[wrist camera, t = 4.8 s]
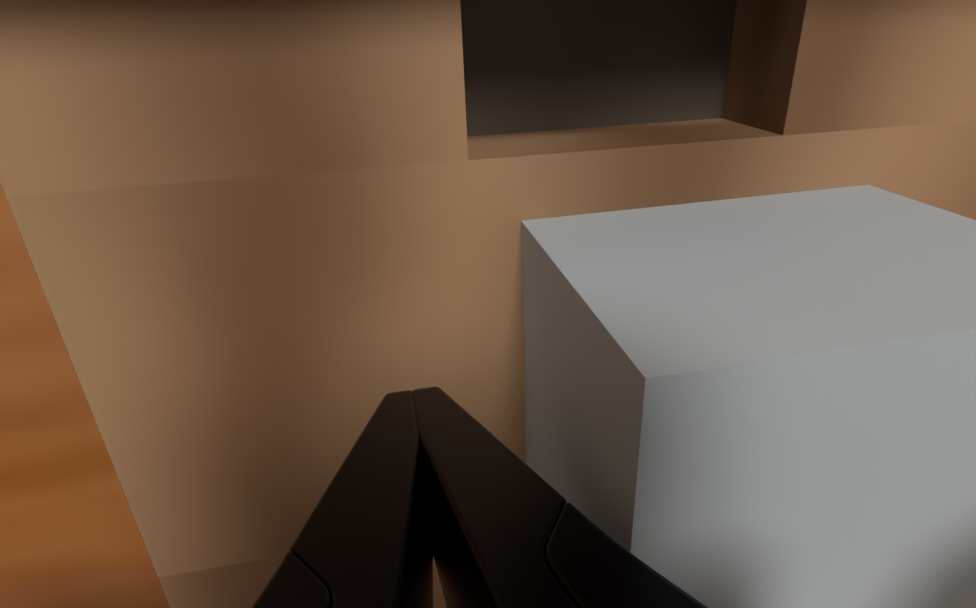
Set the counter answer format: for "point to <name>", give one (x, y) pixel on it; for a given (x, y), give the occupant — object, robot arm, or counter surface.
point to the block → (764, 393)
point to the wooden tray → (399, 204)
